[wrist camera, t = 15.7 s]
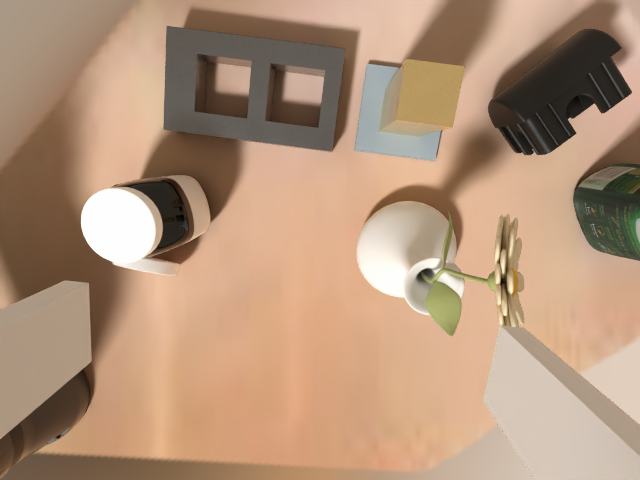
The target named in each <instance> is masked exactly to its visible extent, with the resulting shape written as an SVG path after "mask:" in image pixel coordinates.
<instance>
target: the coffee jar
mask: <svg viewBox="0 0 640 480" xmlns="http://www.w3.org/2000/svg"><path fill="white" fill-rule="evenodd" d="M573 201H574V207H575V212H576V216H577V219H578V221H579V224H580V227H581V229H582V231H583V233H584V235H585V237H586V239H587V241H588V242H589V244H590V245H591V246H592V247H593V248H594V249H596V250H598V251H600V252H603V253H607V254H611V255H615V256H619V257H624V258H629V259H634V260H639V261H640V165H639V164H617V165H613V166H610V167H607V168H604V169H602V170H600V171H598V172H596V173H594V174H592V175H590V176H589V177H587V178H586V179H584V180H583V181H582V182H581V183H580V184H579V185H578V187H577V188H576V190H575V193H574V196H573Z"/></svg>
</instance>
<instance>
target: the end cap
mask: <svg viewBox="0 0 640 480" xmlns="http://www.w3.org/2000/svg"><path fill="white" fill-rule="evenodd" d="M620 49H621V47H620V45H619V44H618V42H617V41H616V40H615V39H614V38H612V37H611V36H610V35H608V34H606V33H605V32H603V31H599V30H596V29H585V30H582V31H580V32H578V33H577V34H575V35H574V36H573V37H571V38H570V39H569V40H568V41H566V42H565V43H564V44H562V45H561V46H560V47H559V48H557V49H556V50H555V51H553V52H552V53H551V54H550V55H548V56H547V57H546V58H544V59H543V60H542V61H541V62H539V63H538V64H537V65H536V66H534V67H533V68H532V69H530V70H529V71H528V72H527V73H525V74H524V75H523V76H521V77H520V78H519V79H518V80H516V81H515V82H514V83H513V84H511V85H510V86H509V87H507V88H506V89H505V90H504V91H502V92H501V93H500V94H498V95H497V96H496V97H495V98H493V99H492V100H491V101H490V103H489V106H488V112H489V116H490V118H491V121H492V123H493V124H494V126H495V128H498V129H499V130H500V132H501V133H502V134H503V136H504V137H505V139H506V140H507V142H508V143H509V145H510V146H511V148H512V149H513V150H514V151H515V152H516V153H522V152H523V154H524V155H531V154H533V153H534V152H533V150H534V151H535V152H536V154H537V155H545V154H548V153H550V152H552V151H553V150H555V149H556V148H557V147H559V146H560V145H561V144H563V143H564V142H565V141H567V140H568V139H570V138H571V137H572V136H574V135H575V134H576V132H575V130H574V129H573V127H572V126H571V124H570V123H569V121H568V119H569V118H570V117H571V119H572V118H575V117H576V116H578V115H579V114H580V113H582V112H583V111H584V110H586V109H587V108H589V107H590V106H591V105H593V104H594V103H595V104H596V106H597V107H598V109H599V110H600V112H601V113H605V112H607V111H608V110H609V109H611V108H612V107H613V106H615V105H616V104H618V103H619V102H620V101H622V100H623V99H624V98H626V97H627V96H628V95H630V94H631V93H632V91H631V89H630V88H629V86H628V85H627V83H626V81H625V80H624V78H623V76H622V75H621V73H620V71H619V70H618V68H617V67H616V65H615V63H614V62H613V60H612V58H611V56H612V55H614V54H615V53H616V52H618V51H619V50H620ZM532 149H533V150H532Z"/></svg>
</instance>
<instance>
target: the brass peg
mask: <svg viewBox="0 0 640 480" xmlns="http://www.w3.org/2000/svg"><path fill="white" fill-rule="evenodd" d="M464 68H465V66H459V65H451V64H443V63H435V62H427V61H419V60H412V59H406V60H405V61H404V63H403V64H402V66H401V67H400V69H399V70H398V71H397V73H396V74H395V76H394V77H393V79H392V80H391V81H390V83H389V84H388V86H387V87H386V89H385V94H384V100H383V106H382V112H381V119H380V125H379V132H387V133H394V134H402V135H409V136H417V137H419V136H423V135H426V134H430V133H434V132H437V131H441V130H445V129H448V128H452V127H453V123H454V118H455V113H456V108H457V103H458V98H459V93H460V88H461V83H462V78H463V73H464Z"/></svg>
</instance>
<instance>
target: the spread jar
mask: <svg viewBox="0 0 640 480" xmlns="http://www.w3.org/2000/svg"><path fill="white" fill-rule="evenodd" d="M209 225H210V210H209V205H208V201H207V198H206V196H205V194H204V191H203V190H202V188H201V186H200V184H199V183H198V182H197V181H196V180H195V179H194V178H192V177H190V176H186V175H174V176H164V177H154V178H146V179H138V180H133V181H129V182H125V183H121V184H117V185H114V186H113V187H111V188H108V189H103V190H101V191H98V192H96V193H95V194H93V195H92V196H91V197H90V198H89V199H88V200H87V202H86V204H85V205H84V207H83V210H82V214H81V228H82V231H83V235H84V237H85V239H86V241H87V243H88V244H89V245H90V247H91V248H92V249H93V250H94V251H95V252H96V253H97V254H99V255H100V256H101V257H103V258H105V259H107V260H109V261H112V262H113V264H114V265H117V266H120V267H125V268H129V269H134V270H139V271H145V272H150V273H157V274H164V275H177V273H178V269H179V265H180V264H178V263H175V262H170V261H166V260H161V259H156V258H151V256H155V255H158V254H161V253H164V252H167V251H169V250H172V249H174V248H177V247H179V246H181V245H183V244H185V243H187V242H189V241H191V240H193V239H194V238H196V237H198V236H200V235H201V234H203V233H204V232H205V231H206V230H207V229H208V227H209Z"/></svg>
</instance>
